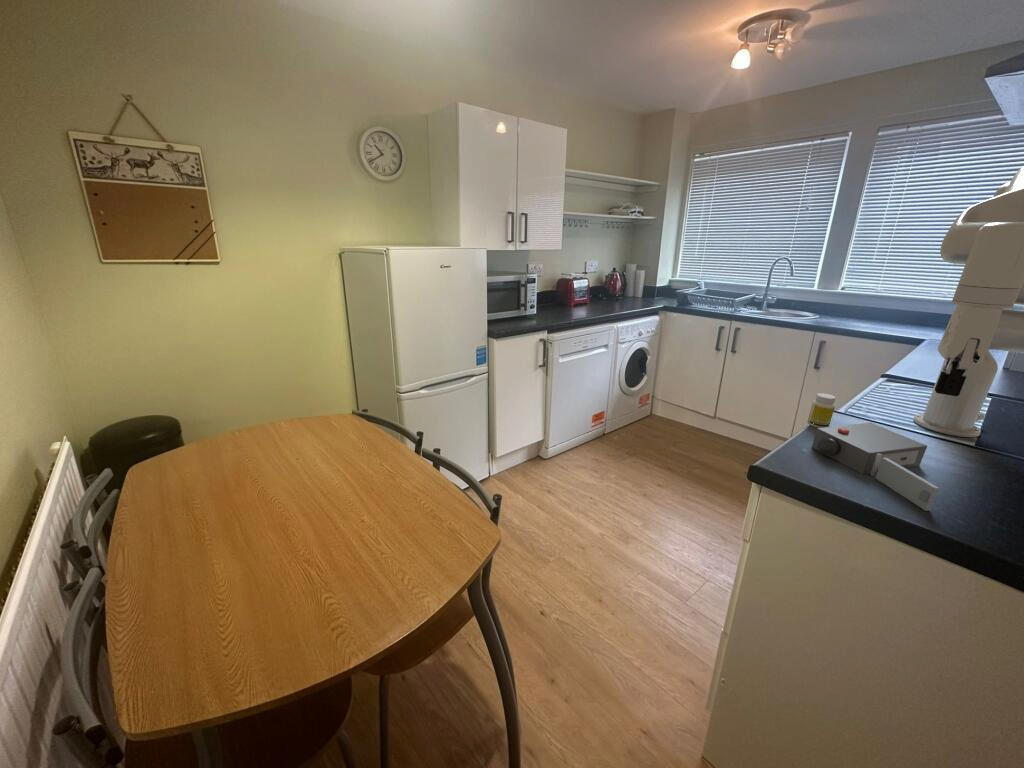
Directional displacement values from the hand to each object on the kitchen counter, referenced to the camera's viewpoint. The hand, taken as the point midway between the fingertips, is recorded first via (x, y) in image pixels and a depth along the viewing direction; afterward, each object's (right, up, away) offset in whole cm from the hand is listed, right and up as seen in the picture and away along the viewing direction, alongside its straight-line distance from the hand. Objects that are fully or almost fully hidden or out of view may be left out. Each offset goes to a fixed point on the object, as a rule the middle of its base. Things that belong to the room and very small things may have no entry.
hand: (946, 393), depth 79 cm
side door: (-8, -19, +1) cm, 21 cm away
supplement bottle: (-2, -9, +31) cm, 32 cm away
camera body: (-4, -15, +15) cm, 21 cm away
